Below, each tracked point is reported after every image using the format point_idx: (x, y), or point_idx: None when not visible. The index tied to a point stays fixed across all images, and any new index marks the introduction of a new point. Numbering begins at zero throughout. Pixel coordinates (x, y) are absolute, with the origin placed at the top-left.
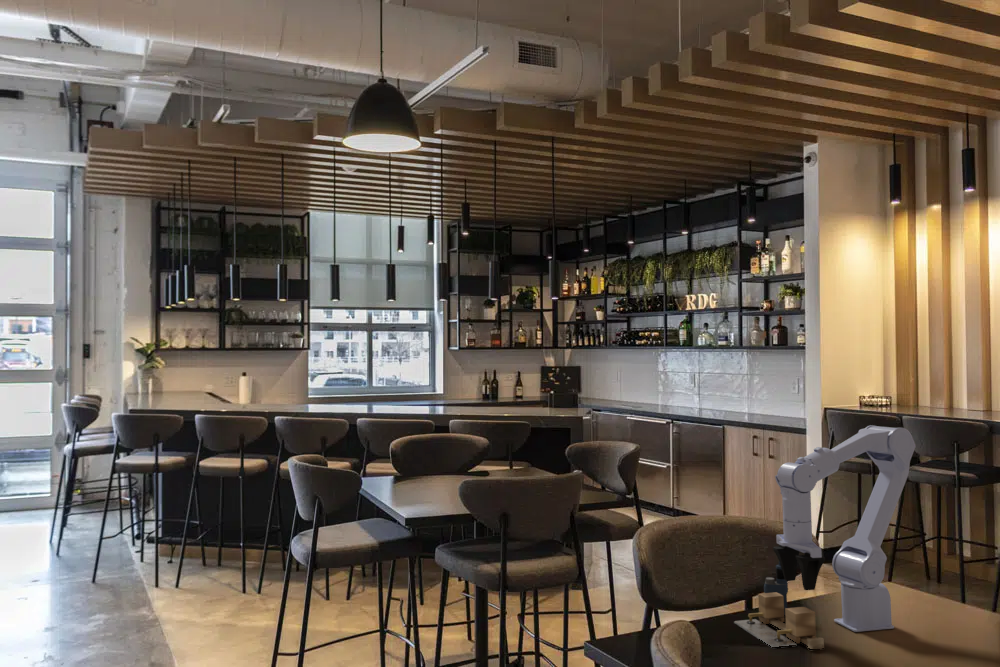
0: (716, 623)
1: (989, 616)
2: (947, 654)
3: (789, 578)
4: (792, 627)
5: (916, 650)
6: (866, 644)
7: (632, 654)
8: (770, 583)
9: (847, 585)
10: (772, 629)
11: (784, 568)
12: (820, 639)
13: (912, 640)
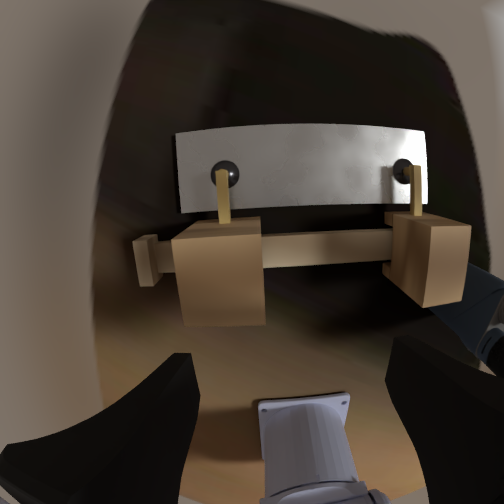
0: (422, 86)
1: None
2: None
3: (394, 361)
4: (212, 226)
5: None
6: None
7: None
8: (502, 304)
9: (301, 488)
10: (330, 203)
11: (434, 374)
12: (138, 275)
13: (196, 449)
